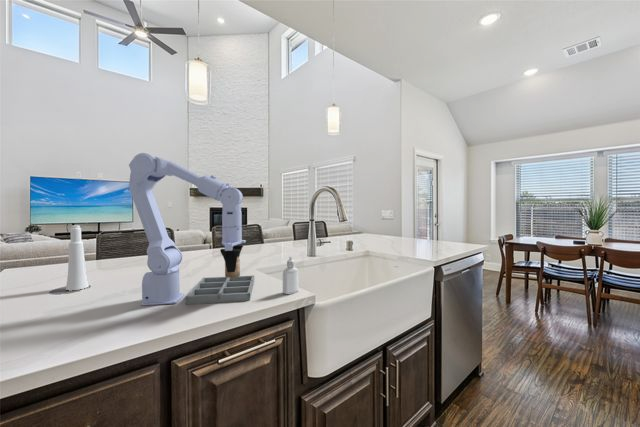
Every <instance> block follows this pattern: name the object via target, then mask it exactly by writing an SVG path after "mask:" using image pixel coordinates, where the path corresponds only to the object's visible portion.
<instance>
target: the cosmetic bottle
mask: <svg viewBox="0 0 640 427" xmlns="http://www.w3.org/2000/svg"><path fill="white" fill-rule="evenodd" d="M69 230H70V242H69V243H68V260H67V262H68V265H67V266H68V267H67V279H66V285H65V291H66V290H69V291H68V292H72V290H76V291H81V290H80V289H82V290H85V289H87V287H88V288H89V282H88V277H87V270H86V260H85V258H86V257H85V248H84V242H83V241H82V227H81V225H77V224H75V225H71V228H70V229H69ZM84 288H85V289H84Z"/></svg>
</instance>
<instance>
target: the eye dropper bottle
mask: <svg viewBox="0 0 640 427" xmlns="http://www.w3.org/2000/svg"><path fill="white" fill-rule="evenodd" d="M298 292H299V269H298V267H295V260H294V259H293V257H292V256H289V257H288V260H286V268H284V269H283V271H282V294H284V295H287V294H289V295H293V294H295V293H298Z"/></svg>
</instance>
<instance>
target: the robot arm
mask: <svg viewBox="0 0 640 427" xmlns="http://www.w3.org/2000/svg"><path fill="white" fill-rule="evenodd" d="M128 167H129V169H130V175H129V182H128V189H129V192H130V195H131V197H132V199H133V203H134V205H135V208H136V210H137V214H138V216H139V219H140V223H141V224H142V227H143V230H144V232H145V236H146V238H147V241H148V247H147V248H146V254H147V267H148V269H149V270H150V271H148V272H146V273H144V275H143V277H142V279H141V280H142V281H141V296H142V297H141V301H142V303H141V304H140V306H153V305H154V306H155V305H171V304H172V305H173V304H177V303H178V302H179V301H180V300H181V299H182V297H184V296H185V293H180V264H181V263H182V261H183V252H182V251H181V250H180V249H179V248H178V247H177V246H176V243H175V241H173V240H172V239H171V238H170V237H169V235H168V234H169V233H168V232H167V231H168V230H167V228H166V226H165V223H164V220H163V217H162V214H161V211H160V209H159V206H158V203H157V200H156V198H155V195H154V192H153V188H154V187H155V185H156V184H158V183H159V182H160V181H161V180H162V179H164V178H165V177H166V176H168V177H173V176H174V177H175V178H178V179H181V180H183V181H185V182H188V183H189V184H192V185H195V186H196V188H197V190H198V192H199V193H201V194H203V195H205V196H207V197H210V198H212V199H213V200H215V201H217V202H218V201H219V202H220V203H221V204H222V212H221V213H222V214H221V219H222V220H221V221H222V224H221V227H222V229H221V230H222V231H221V232H222V240H221V244H222V246H224V248H221V249H220V252H219V253H220V254H221V256H222V257H223V259H224V265H225V264H226V269H227V272H235V269H236V263H237V257H239V258H240V256H241V252H242V250H243V248H244V245H242V244H246V242H247V241H246V239H242V238H243V236H242V234H243V232H242V231H243V230H242V227H243V226H242V225H243V224H242V223H243V222H242V214H243V213H242V204H241V203H242V202H243V199H244V197H243V193H242V191H241V190H239V189H238V188H237V187H231V184H230V183H228V182H227V183H225V182H223V181H220V180H218V178H217V176H215V175H213V174H212V175H208V174H207V175H203V176H202V175H201V176H200V175H199V174H197V173H195V172H193V171H191V170H189V169H188V168H186V167H184V166H182V165H180V164H178V163H176V162H173V161H171V160H166V159H164V158H162V157H161V158H160V157H157V156H153V155H151V154H150V153H146V152H141V153H138V154H136V155H135V156H134V157H133V158H132V160H131V161H130V162H129V164H128Z"/></svg>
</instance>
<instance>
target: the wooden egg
mask: <svg viewBox="0 0 640 427" xmlns="http://www.w3.org/2000/svg"><path fill="white" fill-rule="evenodd" d="M238 276H241V260H240V256H239V257H237V263H236V269H235V272H227V269H226V264H225V263H224V277H229V278H232V277H238Z"/></svg>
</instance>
